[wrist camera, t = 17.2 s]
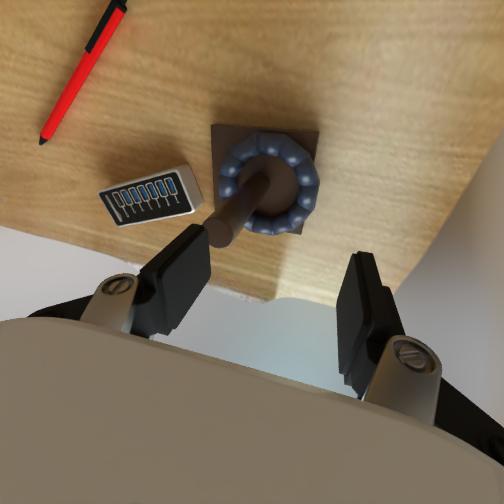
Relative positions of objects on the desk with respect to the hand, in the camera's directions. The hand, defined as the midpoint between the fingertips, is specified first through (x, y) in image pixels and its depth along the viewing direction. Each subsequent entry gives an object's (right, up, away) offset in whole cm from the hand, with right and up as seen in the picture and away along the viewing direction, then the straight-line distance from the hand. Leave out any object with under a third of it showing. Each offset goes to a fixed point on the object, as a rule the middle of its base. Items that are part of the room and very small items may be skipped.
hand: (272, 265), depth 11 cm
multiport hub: (-12, +7, +16) cm, 21 cm away
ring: (0, +6, +10) cm, 11 cm away
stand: (0, +7, +11) cm, 14 cm away
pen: (-17, +16, +11) cm, 26 cm away
